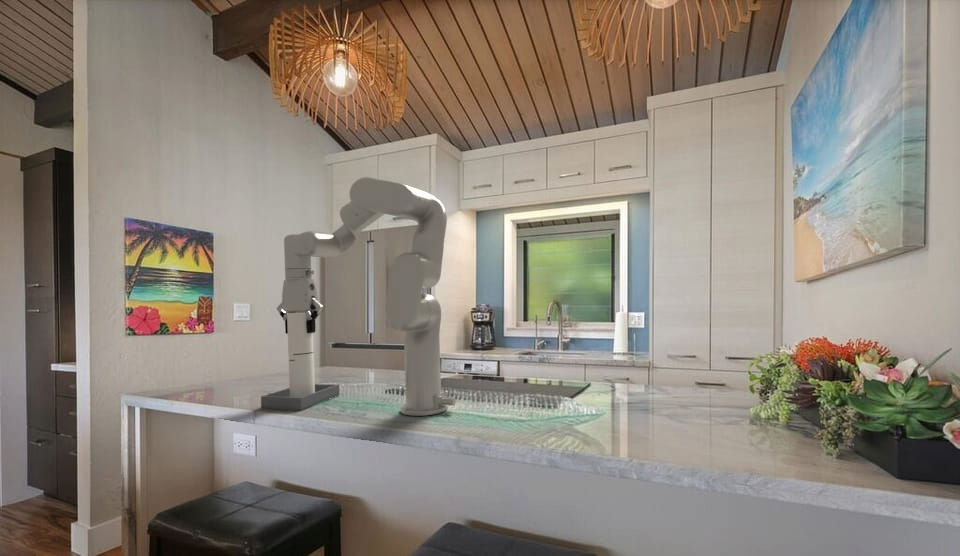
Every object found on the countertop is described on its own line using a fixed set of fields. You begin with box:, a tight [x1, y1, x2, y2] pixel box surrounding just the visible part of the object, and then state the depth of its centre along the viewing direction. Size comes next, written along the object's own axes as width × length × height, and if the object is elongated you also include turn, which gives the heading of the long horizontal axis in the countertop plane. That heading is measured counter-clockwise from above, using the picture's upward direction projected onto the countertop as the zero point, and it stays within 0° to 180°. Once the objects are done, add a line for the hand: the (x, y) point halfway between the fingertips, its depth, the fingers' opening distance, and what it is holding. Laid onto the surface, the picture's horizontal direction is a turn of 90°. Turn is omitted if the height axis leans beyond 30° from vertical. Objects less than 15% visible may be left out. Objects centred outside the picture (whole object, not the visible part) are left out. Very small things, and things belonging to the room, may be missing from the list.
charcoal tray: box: [260, 383, 340, 412], centre depth 139 cm, size 14×18×4 cm
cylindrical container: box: [287, 312, 316, 397], centre depth 140 cm, size 7×7×25 cm
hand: (300, 332), depth 140 cm, fingers closed on cylindrical container, 7 cm apart
